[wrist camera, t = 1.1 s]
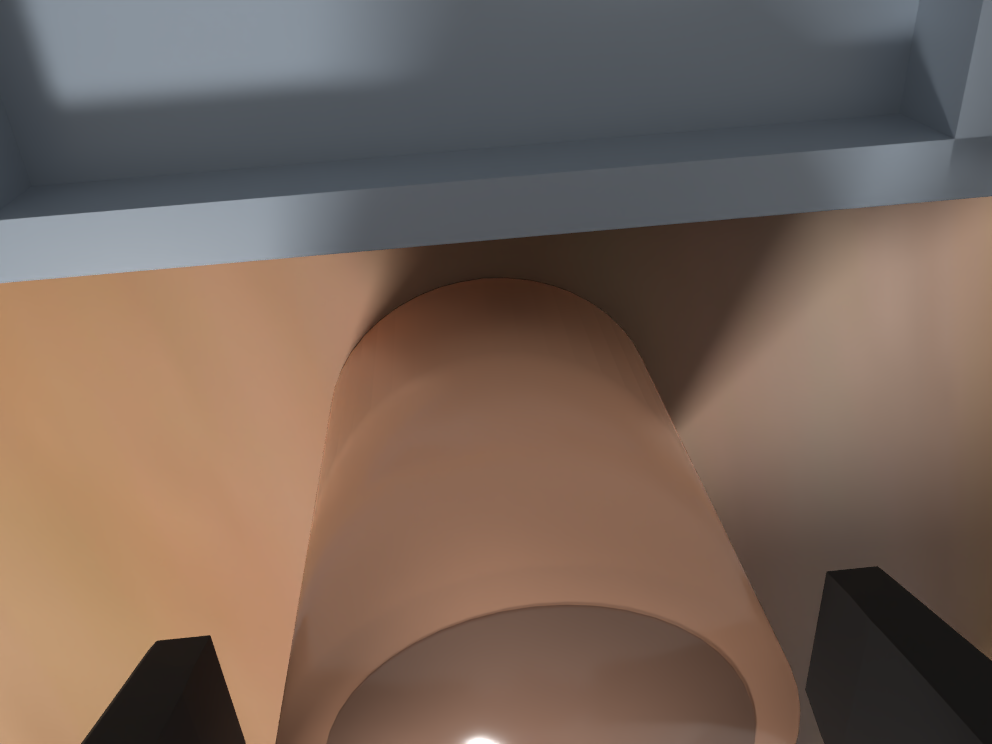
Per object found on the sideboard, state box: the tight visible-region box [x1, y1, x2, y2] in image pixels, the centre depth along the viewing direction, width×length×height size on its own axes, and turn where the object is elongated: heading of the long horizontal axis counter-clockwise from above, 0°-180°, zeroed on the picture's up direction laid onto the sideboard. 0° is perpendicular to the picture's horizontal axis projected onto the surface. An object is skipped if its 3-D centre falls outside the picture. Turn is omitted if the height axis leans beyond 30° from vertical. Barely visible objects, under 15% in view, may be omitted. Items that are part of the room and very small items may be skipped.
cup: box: [276, 278, 800, 744], centre depth 12 cm, size 6×6×7 cm
